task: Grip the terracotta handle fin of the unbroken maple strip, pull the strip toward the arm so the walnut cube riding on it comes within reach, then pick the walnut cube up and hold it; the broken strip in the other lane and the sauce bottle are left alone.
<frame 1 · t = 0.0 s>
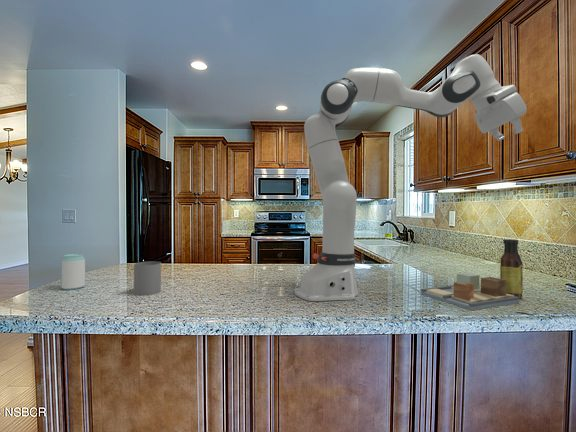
hand: (510, 136, 100), 54 cm above the countertop, tool tilted 30°, fingers open, 8 cm apart
sage block: (467, 288, 108), point 2 cm above the countertop, touching lane board
cup: (147, 292, 104), on the countertop
can: (73, 288, 108), on the countertop
walnut cube: (493, 294, 100), point 2 cm above the countertop, touching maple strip
lane board: (467, 298, 101), on the countertop
sauce bottle: (510, 297, 104), on the countertop
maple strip: (482, 289, 98), point 4 cm above the countertop, slide at 0.0 cm, touching walnut cube
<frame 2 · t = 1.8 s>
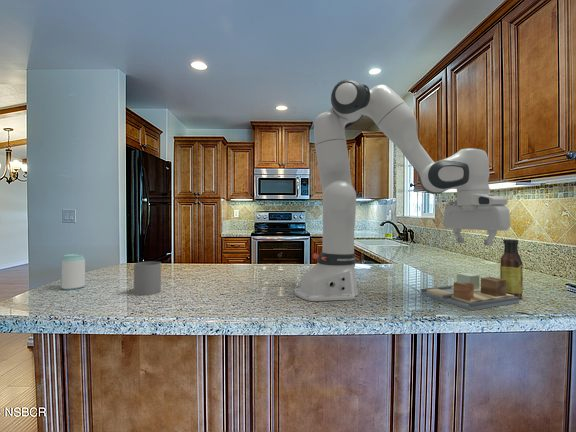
hand: (473, 244, 95), 19 cm above the countertop, tool pointing down, fingers open, 8 cm apart
nothing on the countertop moved.
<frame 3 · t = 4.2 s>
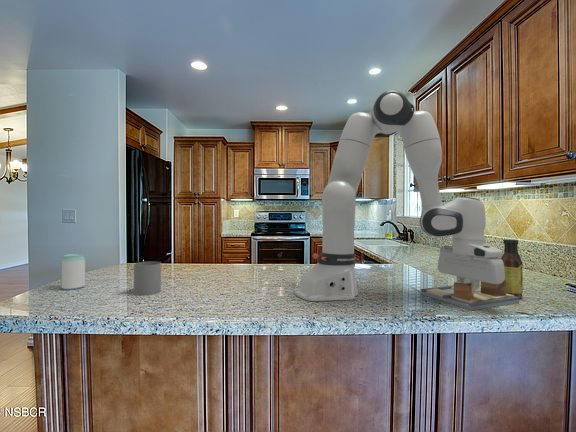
hand: (467, 292, 95), 4 cm above the countertop, tool pointing down, fingers closed on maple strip
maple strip: (482, 289, 98), point 4 cm above the countertop, slide at 0.0 cm, touching gripper, walnut cube
everything else where it was.
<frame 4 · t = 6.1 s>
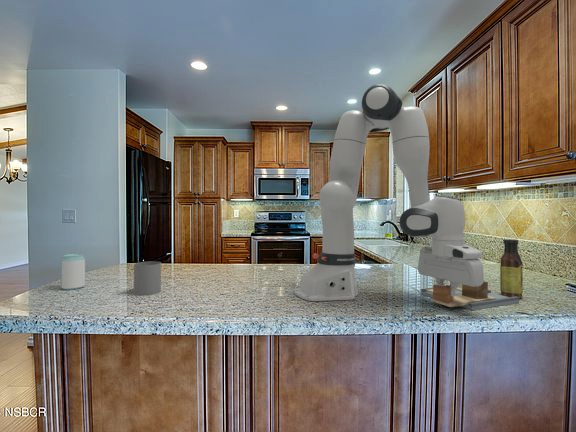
hand: (447, 294, 91), 4 cm above the countertop, tool pointing down, fingers closed on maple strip
walnut cube: (474, 296, 96), point 2 cm above the countertop, touching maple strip
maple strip: (463, 292, 94), point 4 cm above the countertop, slide at 8.9 cm, touching gripper, walnut cube
everything else where it was.
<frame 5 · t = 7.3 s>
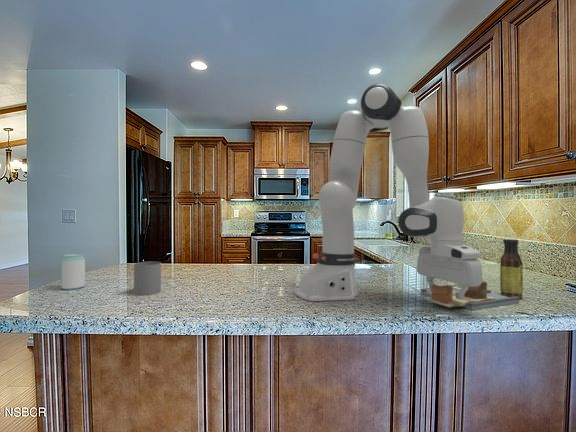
hand: (445, 294, 91), 4 cm above the countertop, tool pointing down, fingers open, 8 cm apart
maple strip: (462, 292, 94), point 4 cm above the countertop, slide at 9.4 cm, touching walnut cube
everything else where it was.
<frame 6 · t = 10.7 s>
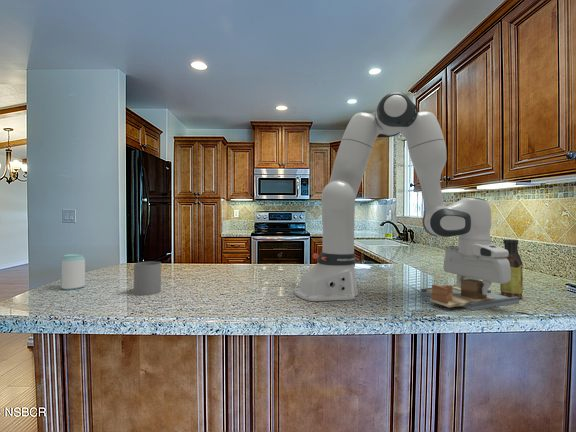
hand: (473, 291, 96), 4 cm above the countertop, tool pointing down, fingers closed on walnut cube, 5 cm apart
walnut cube: (473, 296, 96), point 2 cm above the countertop, touching gripper, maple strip
everything else where it was.
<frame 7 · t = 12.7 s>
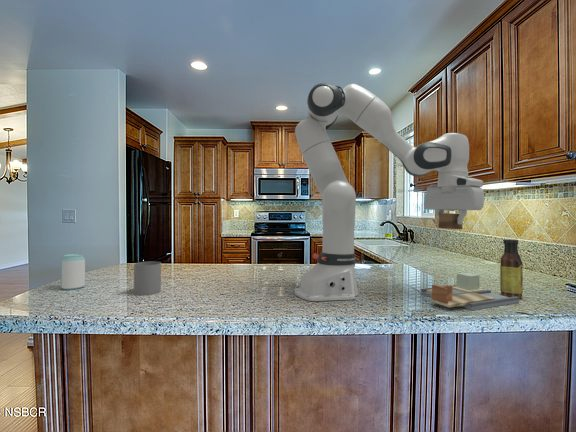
hand: (450, 223, 101), 25 cm above the countertop, tool pointing down, fingers closed on walnut cube, 5 cm apart
walnut cube: (450, 228, 101), point 23 cm above the countertop, touching gripper
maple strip: (462, 292, 94), point 4 cm above the countertop, slide at 9.4 cm
everything else where it was.
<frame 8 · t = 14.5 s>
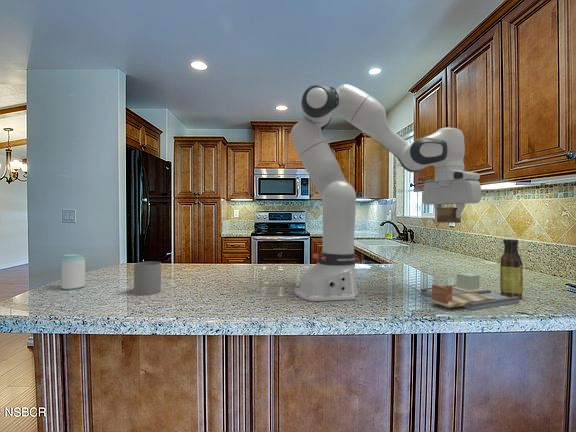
hand: (448, 217, 102), 27 cm above the countertop, tool pointing down, fingers closed on walnut cube, 5 cm apart
walnut cube: (448, 222, 102), point 25 cm above the countertop, touching gripper
everything else where it was.
at the end: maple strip slide at 9.4 cm; the gripper is holding walnut cube; walnut cube point 25.5 cm above the countertop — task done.
